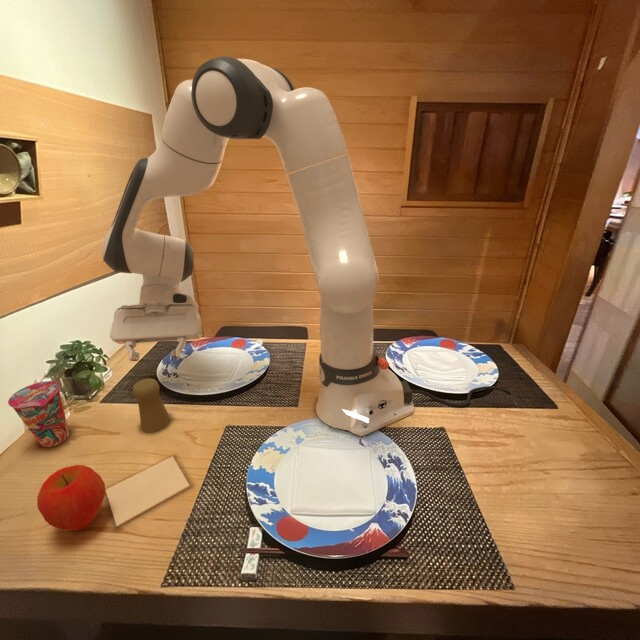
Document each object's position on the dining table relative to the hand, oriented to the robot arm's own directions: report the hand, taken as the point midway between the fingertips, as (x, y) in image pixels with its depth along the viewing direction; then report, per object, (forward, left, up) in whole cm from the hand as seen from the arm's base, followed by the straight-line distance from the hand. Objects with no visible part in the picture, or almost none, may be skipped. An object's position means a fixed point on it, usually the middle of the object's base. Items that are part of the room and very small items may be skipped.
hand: (155, 359), depth 82 cm
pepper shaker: (+2, +7, -12) cm, 15 cm away
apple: (+11, +29, -12) cm, 34 cm away
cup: (+22, +5, -12) cm, 26 cm away
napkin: (+2, +26, -12) cm, 28 cm away
